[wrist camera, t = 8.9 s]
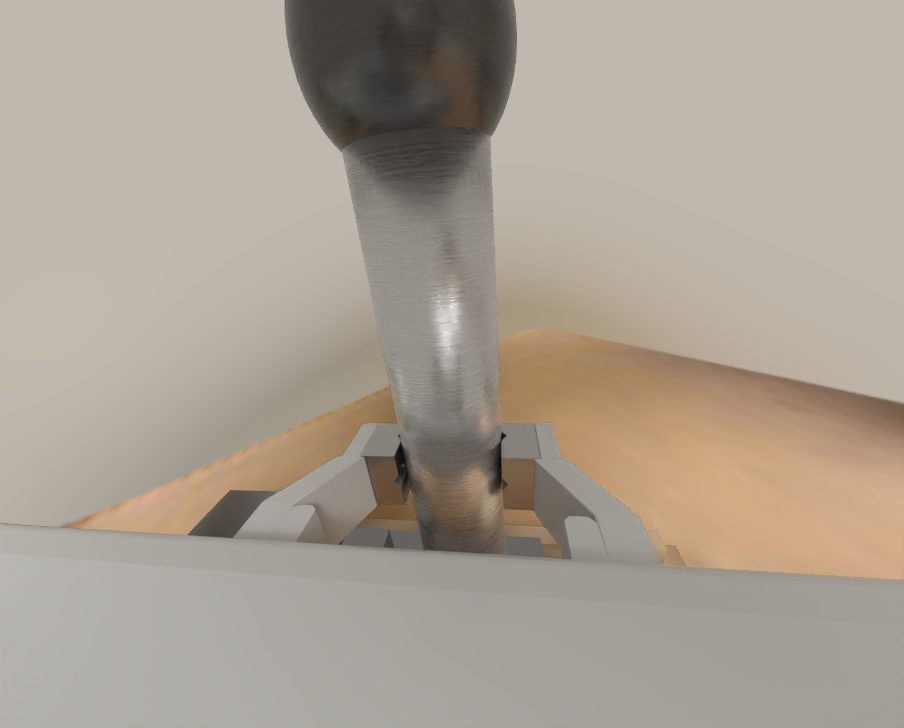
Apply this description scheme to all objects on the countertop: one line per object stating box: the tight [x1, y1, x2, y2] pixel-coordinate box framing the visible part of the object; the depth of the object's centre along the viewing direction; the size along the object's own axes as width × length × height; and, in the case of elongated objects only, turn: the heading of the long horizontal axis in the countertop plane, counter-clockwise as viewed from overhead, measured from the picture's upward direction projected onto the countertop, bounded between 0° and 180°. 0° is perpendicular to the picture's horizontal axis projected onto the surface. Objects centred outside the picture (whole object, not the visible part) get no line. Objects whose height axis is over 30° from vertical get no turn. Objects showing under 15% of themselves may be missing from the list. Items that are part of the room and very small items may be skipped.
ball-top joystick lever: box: [285, 0, 543, 557], centre depth 9 cm, size 9×7×21 cm
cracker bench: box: [188, 490, 686, 566], centre depth 13 cm, size 24×10×6 cm, turn 83°
